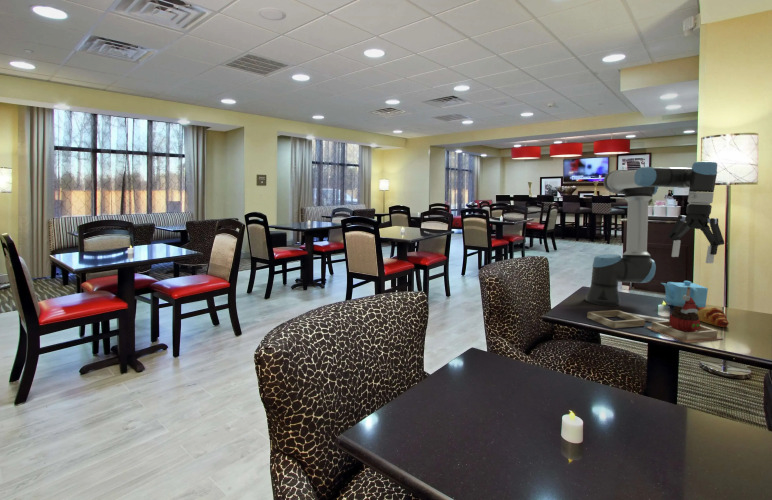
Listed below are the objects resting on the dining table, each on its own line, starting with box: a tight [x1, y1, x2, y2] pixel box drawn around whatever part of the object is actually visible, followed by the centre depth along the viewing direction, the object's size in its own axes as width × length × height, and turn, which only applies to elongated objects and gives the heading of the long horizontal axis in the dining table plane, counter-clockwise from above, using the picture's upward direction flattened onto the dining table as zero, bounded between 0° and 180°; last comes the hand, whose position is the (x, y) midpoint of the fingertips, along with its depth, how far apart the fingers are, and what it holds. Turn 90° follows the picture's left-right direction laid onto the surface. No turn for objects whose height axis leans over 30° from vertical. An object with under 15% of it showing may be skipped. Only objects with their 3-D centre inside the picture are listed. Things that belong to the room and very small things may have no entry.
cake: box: [669, 287, 701, 333], centre depth 164 cm, size 11×9×18 cm
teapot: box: [660, 280, 709, 308], centre depth 202 cm, size 18×16×13 cm
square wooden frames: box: [586, 309, 724, 344], centre depth 171 cm, size 34×32×3 cm
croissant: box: [696, 306, 730, 328], centre depth 182 cm, size 21×10×8 cm, turn 173°
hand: (691, 259), depth 162 cm, fingers open, 13 cm apart
